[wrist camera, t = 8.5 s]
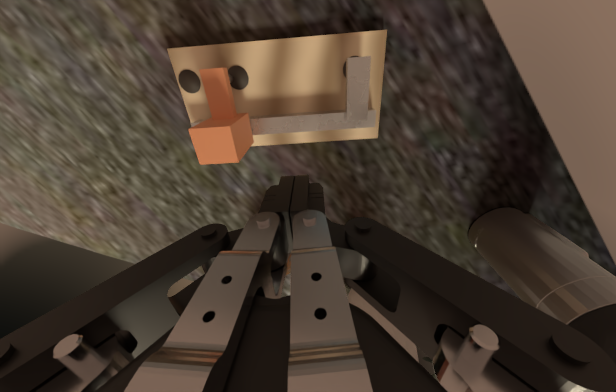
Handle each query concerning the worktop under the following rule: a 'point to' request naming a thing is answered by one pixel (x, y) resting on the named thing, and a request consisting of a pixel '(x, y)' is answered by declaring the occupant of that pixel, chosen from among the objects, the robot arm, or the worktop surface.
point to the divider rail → (348, 118)
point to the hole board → (285, 79)
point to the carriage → (221, 122)
